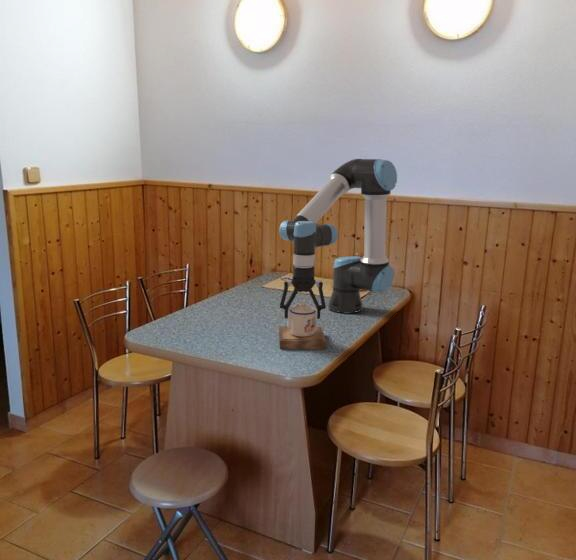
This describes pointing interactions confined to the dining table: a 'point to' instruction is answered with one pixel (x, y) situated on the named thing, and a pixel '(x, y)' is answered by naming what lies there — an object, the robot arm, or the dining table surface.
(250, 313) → the dining table surface
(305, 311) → the teacup with lid
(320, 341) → the walnut base
